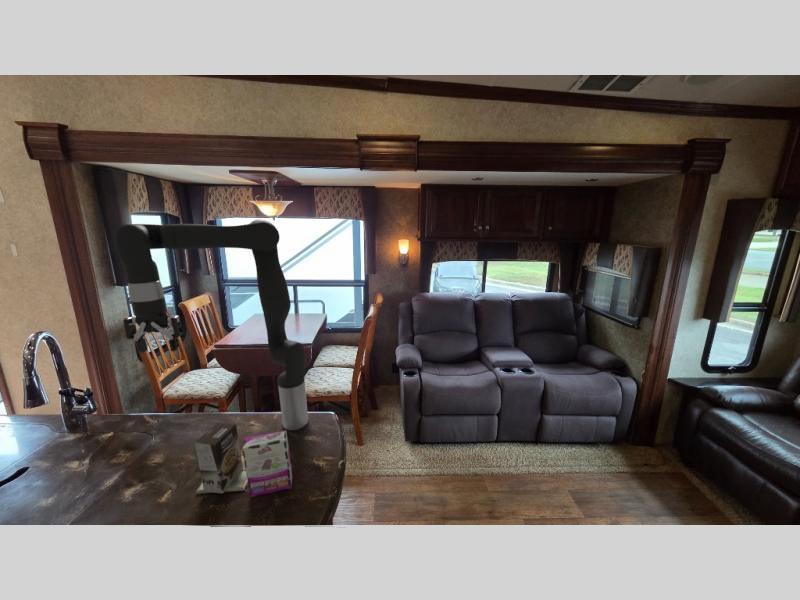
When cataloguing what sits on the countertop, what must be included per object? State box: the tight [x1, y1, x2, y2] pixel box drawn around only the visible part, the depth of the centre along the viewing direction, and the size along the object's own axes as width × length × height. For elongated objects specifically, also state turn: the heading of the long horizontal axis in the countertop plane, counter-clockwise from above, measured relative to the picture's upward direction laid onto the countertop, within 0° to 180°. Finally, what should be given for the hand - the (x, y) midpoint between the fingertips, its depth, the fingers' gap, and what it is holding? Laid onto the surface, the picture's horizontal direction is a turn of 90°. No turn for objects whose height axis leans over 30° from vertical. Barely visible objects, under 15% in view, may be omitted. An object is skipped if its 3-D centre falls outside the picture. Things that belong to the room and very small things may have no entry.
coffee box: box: [194, 422, 243, 494], centre depth 90 cm, size 9×6×16 cm
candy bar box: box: [242, 429, 293, 498], centre depth 89 cm, size 11×5×16 cm, turn 106°
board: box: [195, 455, 248, 495], centre depth 95 cm, size 13×13×1 cm
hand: (159, 350), depth 91 cm, fingers open, 8 cm apart
